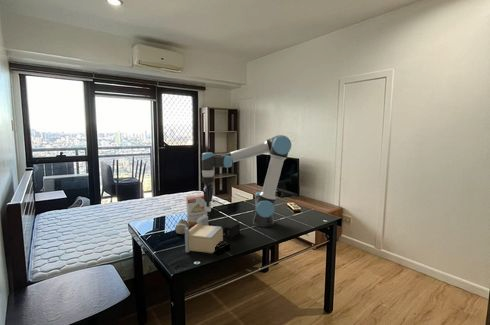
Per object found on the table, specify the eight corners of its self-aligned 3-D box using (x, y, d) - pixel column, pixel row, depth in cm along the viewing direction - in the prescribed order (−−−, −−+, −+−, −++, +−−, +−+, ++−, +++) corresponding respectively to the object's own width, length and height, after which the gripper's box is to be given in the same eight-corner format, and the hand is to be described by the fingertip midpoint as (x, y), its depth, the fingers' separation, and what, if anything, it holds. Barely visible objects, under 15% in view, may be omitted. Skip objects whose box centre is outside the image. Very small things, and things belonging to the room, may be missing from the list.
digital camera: (233, 231, 170) (232, 221, 169) (239, 233, 167) (239, 223, 166) (223, 237, 161) (223, 226, 160) (230, 239, 158) (230, 228, 157)
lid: (221, 228, 154) (221, 223, 154) (211, 238, 139) (211, 233, 138) (200, 226, 158) (200, 221, 157) (187, 236, 142) (187, 231, 142)
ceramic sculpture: (171, 222, 164) (177, 216, 179) (171, 235, 164) (177, 228, 179) (187, 222, 164) (192, 216, 179) (188, 235, 164) (192, 228, 179)
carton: (228, 234, 164) (227, 214, 163) (211, 255, 137) (210, 231, 136) (206, 232, 168) (205, 212, 167) (185, 252, 141) (184, 228, 140)
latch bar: (206, 216, 165) (206, 214, 164) (198, 223, 153) (198, 220, 153) (204, 216, 165) (204, 214, 165) (196, 222, 154) (196, 220, 153)
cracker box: (188, 227, 179) (187, 198, 177) (186, 224, 184) (185, 196, 182) (208, 224, 185) (207, 195, 182) (205, 221, 190) (204, 193, 188)
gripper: (206, 174, 174) (207, 207, 177) (198, 177, 162) (199, 213, 165) (217, 174, 172) (217, 208, 175) (209, 178, 160) (210, 214, 163)
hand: (208, 211), depth 170 cm, fingers closed
